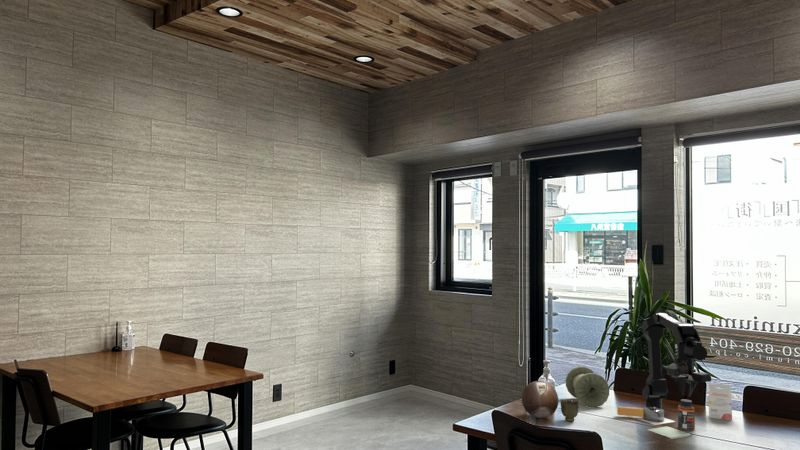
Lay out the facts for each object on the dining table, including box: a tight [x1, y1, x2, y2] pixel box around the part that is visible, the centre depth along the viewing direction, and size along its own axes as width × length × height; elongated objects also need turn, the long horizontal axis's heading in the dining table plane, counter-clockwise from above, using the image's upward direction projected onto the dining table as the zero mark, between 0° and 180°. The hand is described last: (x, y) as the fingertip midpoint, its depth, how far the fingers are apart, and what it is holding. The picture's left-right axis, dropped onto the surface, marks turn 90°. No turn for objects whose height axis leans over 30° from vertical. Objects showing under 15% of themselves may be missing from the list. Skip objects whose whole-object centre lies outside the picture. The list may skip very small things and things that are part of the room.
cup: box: [559, 399, 580, 423], centre depth 237 cm, size 8×7×8 cm
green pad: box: [646, 425, 692, 440], centre depth 221 cm, size 11×11×1 cm
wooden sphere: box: [521, 380, 559, 419], centre depth 242 cm, size 15×15×15 cm
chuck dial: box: [616, 405, 665, 422], centre depth 240 cm, size 18×8×5 cm, turn 76°
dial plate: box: [631, 416, 677, 426], centre depth 239 cm, size 12×12×1 cm
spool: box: [565, 366, 610, 409], centre depth 267 cm, size 16×15×15 cm
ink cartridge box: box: [707, 382, 733, 421], centre depth 243 cm, size 9×5×15 cm, turn 62°
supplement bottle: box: [677, 398, 696, 431], centre depth 227 cm, size 6×6×11 cm
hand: (685, 395), depth 228 cm, fingers open, 3 cm apart
